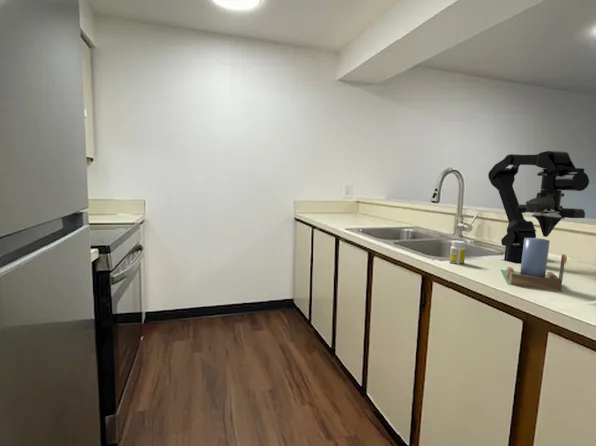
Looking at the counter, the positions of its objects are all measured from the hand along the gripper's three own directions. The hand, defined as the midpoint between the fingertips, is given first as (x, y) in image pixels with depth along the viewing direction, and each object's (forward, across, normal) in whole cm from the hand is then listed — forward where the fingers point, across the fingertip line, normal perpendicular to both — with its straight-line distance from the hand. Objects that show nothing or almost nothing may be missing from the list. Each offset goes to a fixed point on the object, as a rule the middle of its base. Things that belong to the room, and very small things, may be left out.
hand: (545, 236), depth 115 cm
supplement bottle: (+12, -15, -22) cm, 29 cm away
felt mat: (+12, +7, -16) cm, 22 cm away
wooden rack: (+11, +11, -20) cm, 26 cm away
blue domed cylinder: (+11, +11, -20) cm, 25 cm away
